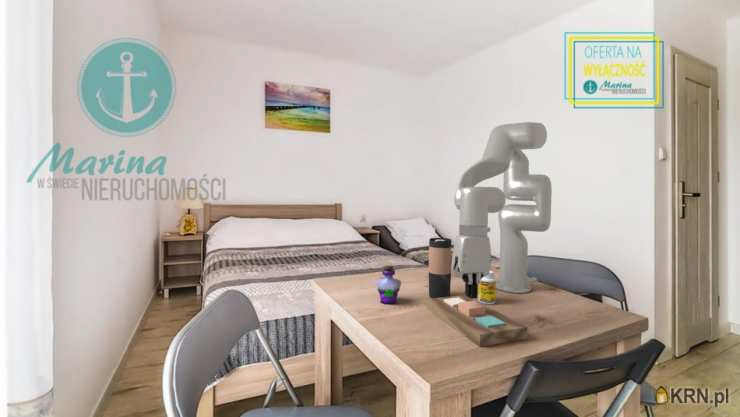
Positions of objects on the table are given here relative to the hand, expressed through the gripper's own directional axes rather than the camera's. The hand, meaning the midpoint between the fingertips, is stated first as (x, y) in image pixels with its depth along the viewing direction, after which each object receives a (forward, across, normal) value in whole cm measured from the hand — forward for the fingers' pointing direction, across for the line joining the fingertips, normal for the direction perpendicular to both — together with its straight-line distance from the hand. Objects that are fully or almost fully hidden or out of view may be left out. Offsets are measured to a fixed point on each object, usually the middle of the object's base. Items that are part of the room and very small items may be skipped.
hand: (471, 297), depth 96 cm
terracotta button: (+5, -1, 0) cm, 5 cm away
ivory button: (+7, -1, -8) cm, 11 cm away
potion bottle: (+8, +15, -23) cm, 29 cm away
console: (+7, -1, 0) cm, 7 cm away
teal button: (+7, -1, +8) cm, 10 cm away
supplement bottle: (+7, -16, -13) cm, 22 cm away
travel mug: (+7, -4, -23) cm, 25 cm away
